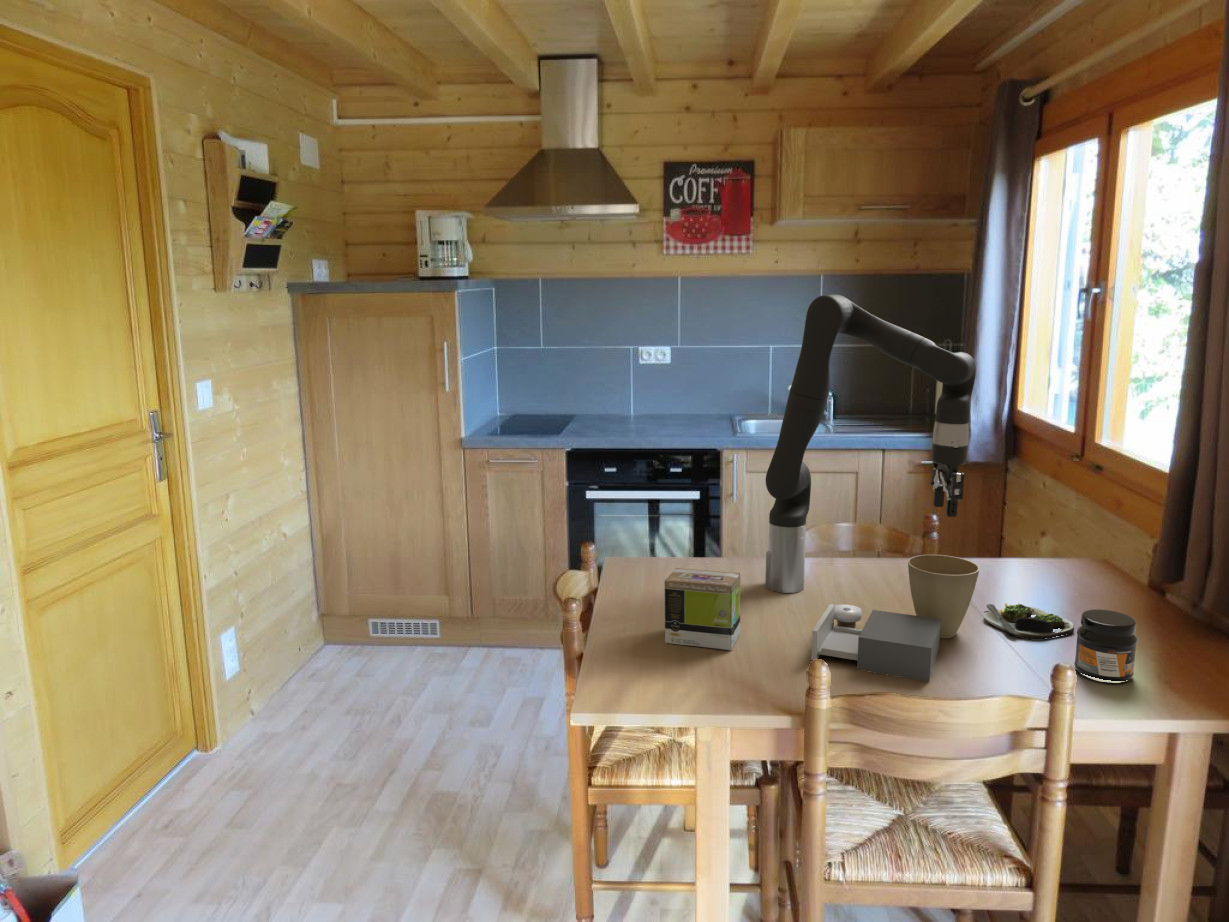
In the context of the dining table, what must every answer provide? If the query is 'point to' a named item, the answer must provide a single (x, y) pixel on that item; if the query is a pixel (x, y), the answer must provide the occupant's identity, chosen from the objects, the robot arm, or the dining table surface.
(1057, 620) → the salad plate
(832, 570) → the dining table surface
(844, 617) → the disc
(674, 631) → the tea box
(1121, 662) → the supplement container
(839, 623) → the pedestal
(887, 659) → the block
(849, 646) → the tray
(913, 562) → the plant pot
